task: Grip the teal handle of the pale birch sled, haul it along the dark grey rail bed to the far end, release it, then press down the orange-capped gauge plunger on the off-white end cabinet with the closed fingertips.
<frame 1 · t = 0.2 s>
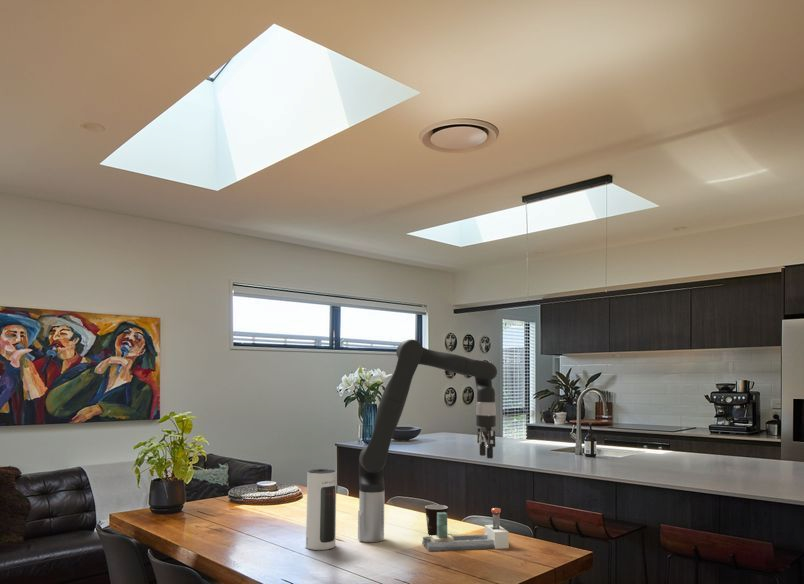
hand: (486, 456, 238), 29 cm above the table, fingers open, 8 cm apart
gauge plunger: (496, 522, 221), point 8 cm above the table, slide at 0.0 cm
carriage: (442, 528, 217), point 6 cm above the table, slide at 0.0 cm
coffee mug: (437, 534, 235), on the table
speaker: (320, 547, 215), on the table
end cabinet: (496, 544, 220), on the table
rail bed: (462, 545, 217), on the table
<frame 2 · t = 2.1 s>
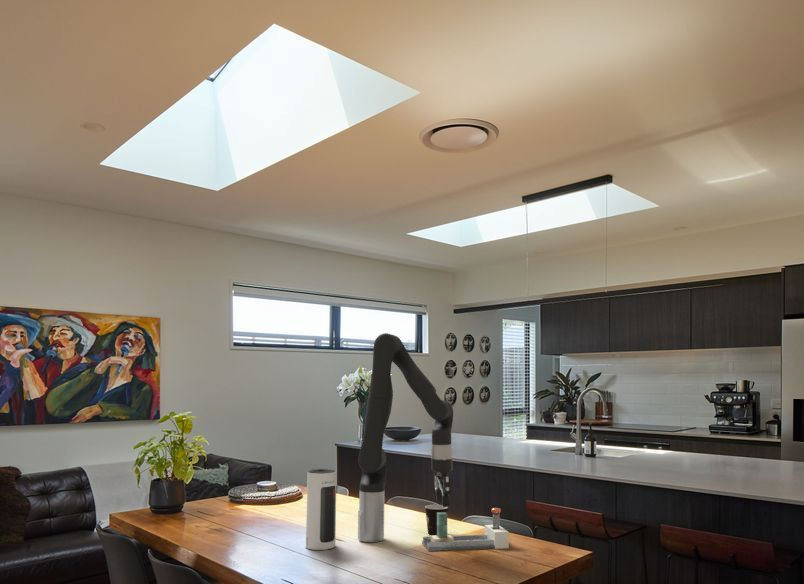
hand: (442, 504, 218), 14 cm above the table, fingers open, 8 cm apart
nothing on the table moved.
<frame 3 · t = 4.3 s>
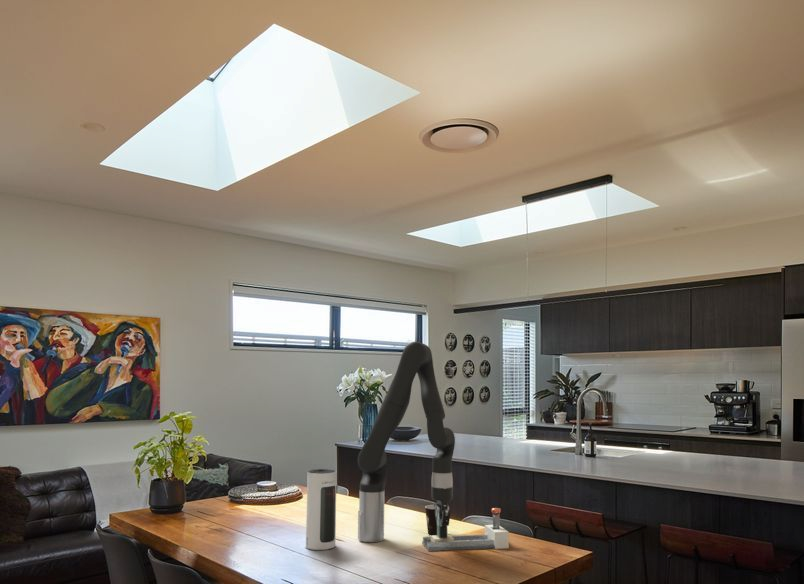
hand: (442, 535, 217), 4 cm above the table, fingers closed on carriage, 3 cm apart
carriage: (442, 528, 217), point 6 cm above the table, slide at 0.0 cm, touching gripper
everything else where it was.
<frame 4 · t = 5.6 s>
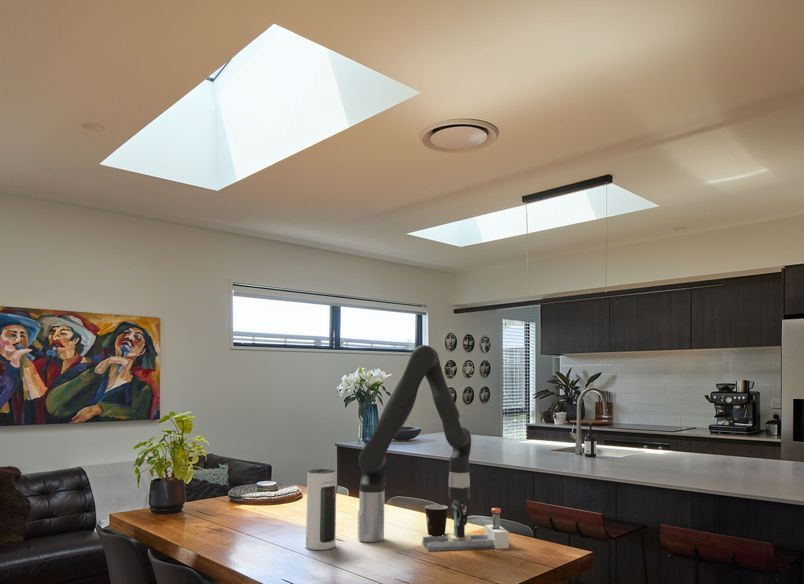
hand: (459, 535, 218), 4 cm above the table, fingers closed on carriage, 3 cm apart
carriage: (459, 527, 218), point 6 cm above the table, slide at 6.3 cm, touching gripper
everything else where it was.
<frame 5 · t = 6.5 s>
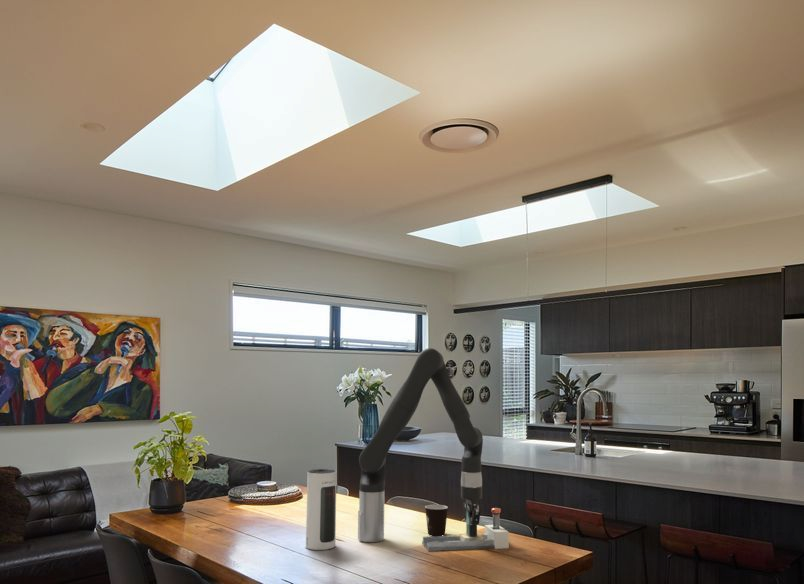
hand: (471, 534, 219), 4 cm above the table, fingers closed on carriage, 3 cm apart
carriage: (471, 526, 219), point 6 cm above the table, slide at 10.8 cm, touching gripper
everything else where it was.
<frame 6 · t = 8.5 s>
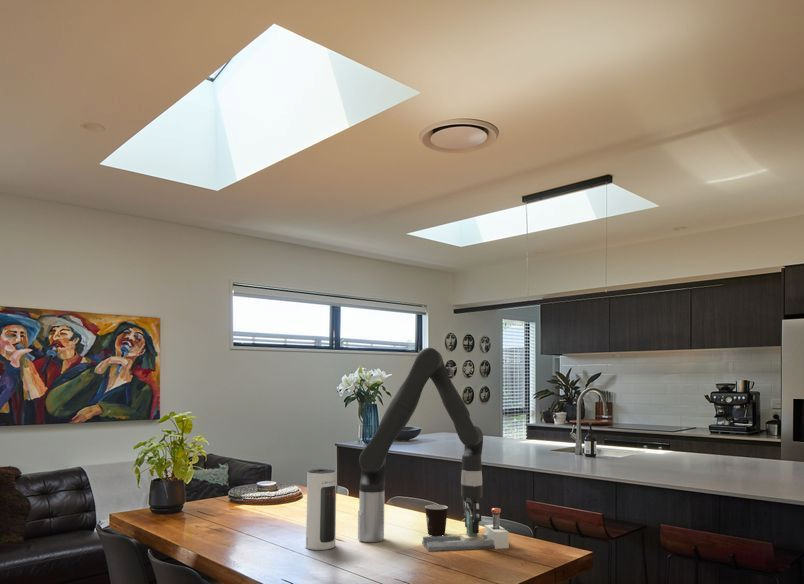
hand: (471, 530, 219), 5 cm above the table, fingers open, 8 cm apart
carriage: (471, 526, 219), point 6 cm above the table, slide at 10.9 cm
everything else where it was.
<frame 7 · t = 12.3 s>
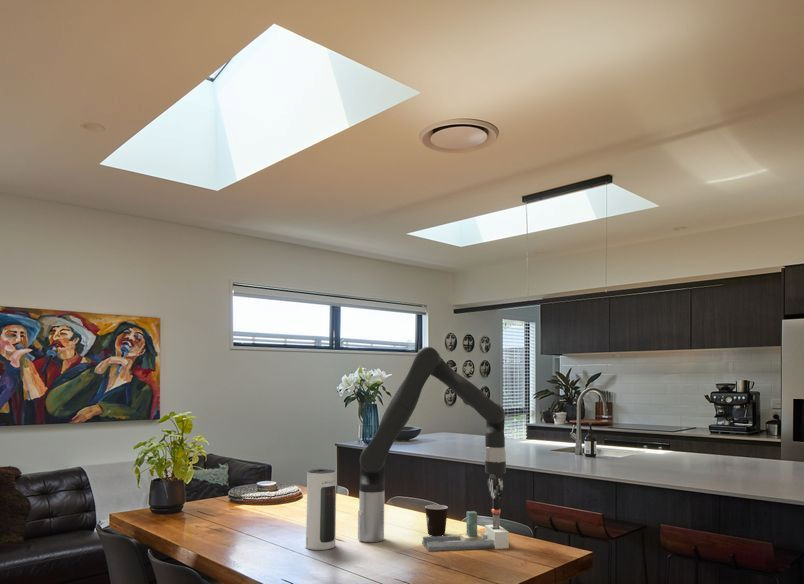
hand: (496, 509, 222), 12 cm above the table, fingers closed
gauge plunger: (496, 522, 221), point 7 cm above the table, slide at 0.2 cm, touching gripper
everything else where it was.
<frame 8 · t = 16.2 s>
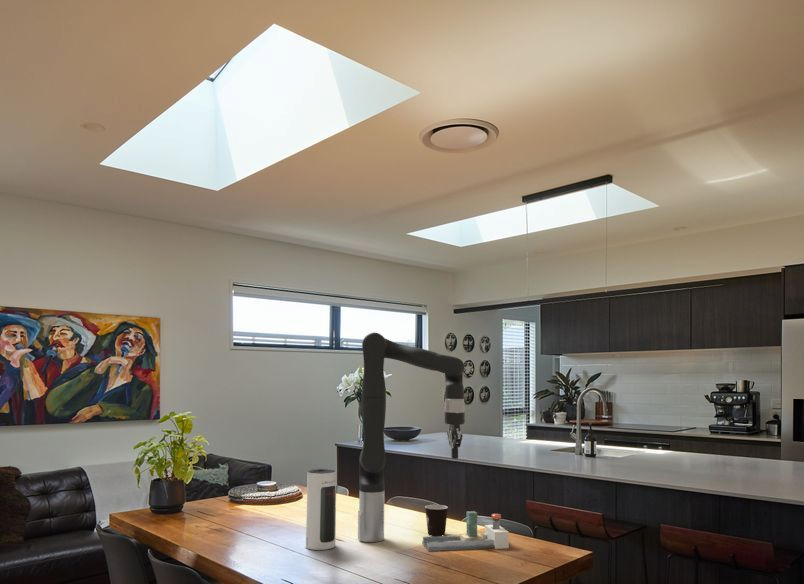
hand: (454, 458, 229), 29 cm above the table, fingers closed
gauge plunger: (496, 528, 221), point 6 cm above the table, slide at 2.0 cm, touching rail bed
everything else where it was.
at the end: carriage slide at 10.9 cm; gauge plunger slide at 2.0 cm; the gripper is holding nothing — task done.
